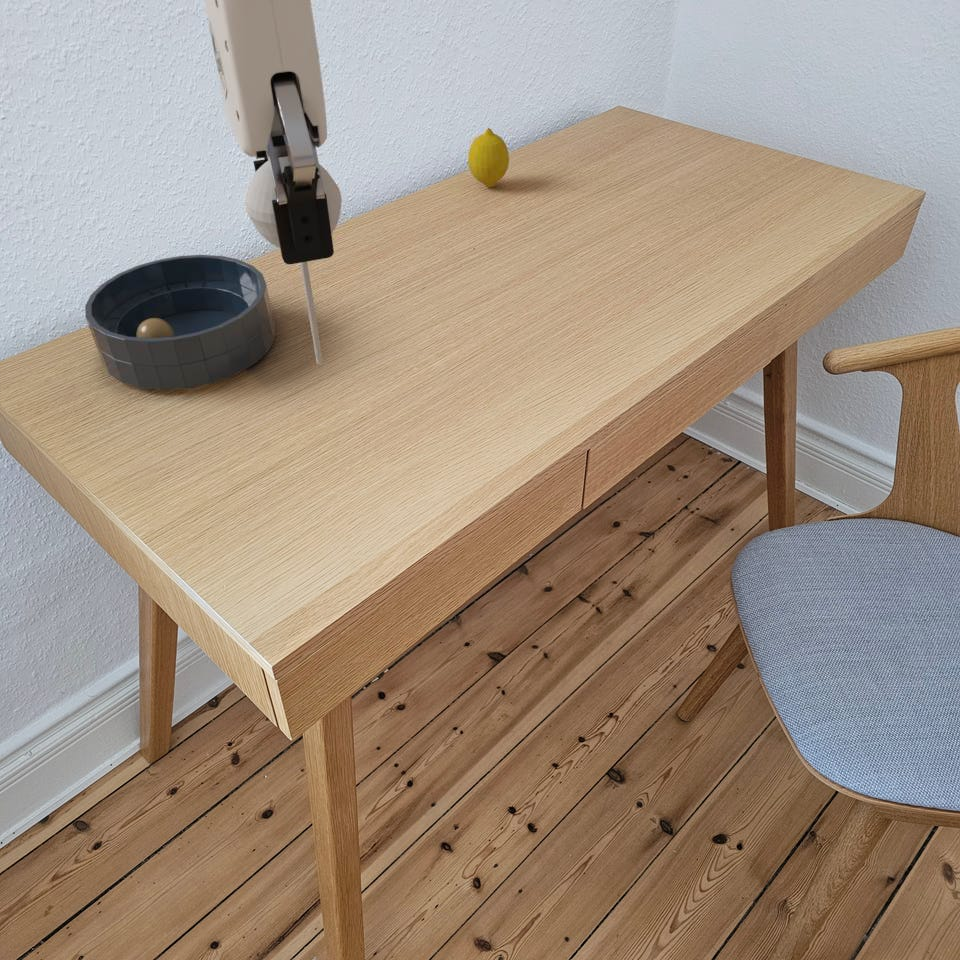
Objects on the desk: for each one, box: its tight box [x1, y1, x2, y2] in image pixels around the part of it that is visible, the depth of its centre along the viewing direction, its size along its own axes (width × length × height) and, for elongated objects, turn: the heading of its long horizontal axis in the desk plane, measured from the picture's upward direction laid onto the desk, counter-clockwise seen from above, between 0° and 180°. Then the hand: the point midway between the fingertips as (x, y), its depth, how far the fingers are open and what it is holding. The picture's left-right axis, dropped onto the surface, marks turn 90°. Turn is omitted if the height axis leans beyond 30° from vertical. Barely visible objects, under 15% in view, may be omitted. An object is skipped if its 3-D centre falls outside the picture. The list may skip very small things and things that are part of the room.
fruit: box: [467, 127, 510, 188], centre depth 115 cm, size 6×6×8 cm
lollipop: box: [245, 157, 343, 365], centre depth 57 cm, size 6×6×15 cm
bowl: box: [84, 254, 277, 391], centre depth 86 cm, size 17×17×6 cm
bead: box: [136, 318, 175, 338], centre depth 85 cm, size 4×4×4 cm
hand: (297, 234), depth 56 cm, fingers closed on lollipop, 6 cm apart
